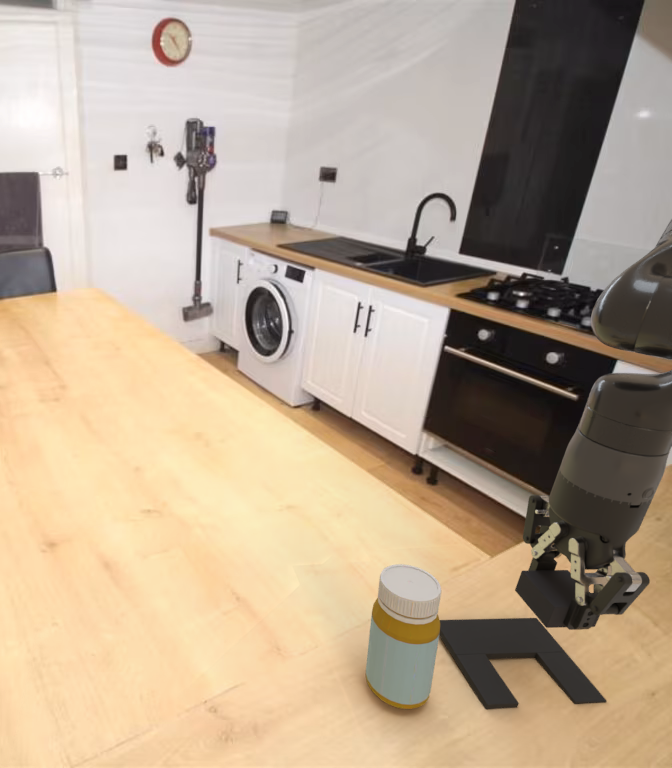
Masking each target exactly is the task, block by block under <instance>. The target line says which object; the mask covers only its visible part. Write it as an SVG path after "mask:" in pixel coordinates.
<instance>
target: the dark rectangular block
mask: <svg viewBox="0 0 672 768" xmlns="http://www.w3.org/2000/svg"><path fill="white" fill-rule="evenodd" d="M528 570H529V569H528ZM528 570H521V572H520V575H519V578H518V580H517V583H516V585H515V589H514V591H515V592H516V593H517V595H518V596H519V597H520V598H521V599H522V601H523V602H524V603H525V604H526V605H527V606H528V608H529V609H530V610H531V611H532V613H533V614H534V615H535V616H536V618H537V619H538V620H539V621H540V623H541V624H542V625H543V626H544V627H545V628H546V629H549V628H550V629H551V628H553V629H555V628H567V627H566V626H565V625H564V623H563V622H564V619H565V617H566V614H567V612H568V610H569V606H570V604H571V601H572V599H575V581H574V580H572V578H571V571H569V570H568V569H555V570H529V571H528ZM589 593H591V591H589ZM600 616H601V615H596V618H595V620H594V622H593V624H592V627H591V628H596V625H597V623H598V621H599V619H600Z"/></svg>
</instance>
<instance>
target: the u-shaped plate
mask: <svg viewBox="0 0 672 768" xmlns="http://www.w3.org/2000/svg"><path fill="white" fill-rule="evenodd" d="M439 620H440V634H439V638H440V639H441V640H442V642H443V643H444V645H445V647H446V649H447V650H448V652H449V654H450V655H451V656H452V658H453V660H454V662H455V664H456V665H457V666H458V668H459V670H460V671H461V673H462V674H463V676H464V678H465V679H466V681H467V683H468V684H469V686H470V688H471V689H472V691H473V693H474V694H475V696H476V697H477V699H478V700H479V702H480V703H481V705H482V707H483V708H484V710H497V709H498V710H499V709H501V710H502V709H517V708H518V707H519V704H520V703H519V701H518V700H517V698H516V697H515V696H514V694H513V693H512V691H511V690H510V688H509V687H508V686H507V684H506V682H505V680H504V679H503V678H502V676H501V674H499V672H498V671H497V669H496V667H494V665H493V663H492V662H491V660H508V659H509V660H510V659H511V660H512V659H513V660H514V659H535V661H537V663H538V664H539V665H540V666H541V667H542V668H543V670H544V671H545V672H546V673H547V674H548V675H549V677H550V678H551V679H552V680H553V681H554V683H556V685H557V686H558V687H559V688H560V690H561V691H562V692H563V693H564V694H565V695H566V696H567V698H569V699H570V701H571V702H572V703H573V704H574V705H587V704H604V703H605V704H606V703H607V702H608V701H607V699H606V698H605V697H604V696H603V695H602V693H601V692H600V691H599V690H598V689H597V688H596V686H595V685H594V684H593V682H592V681H591V680H590V679H589V678H588V677H587V676H586V674H585V673H584V672H583V671H582V669H581V668H580V667H579V666H578V665H577V664H576V663H575V662H574V659H572V658H571V656H570V655H569V654H568V653H567V652H566V651H565V650H564V649H563V647H562V646H561V645H560V643H559V642H558V641H557V640H556V639H555V638H554V636H552V634H551V633H550V632H549V631H548V629H547V628H546V627H545V626H544V624H543V623H542V622H541V621H540V620H539V618H538V617H517V618H516V617H512V618H511V617H510V618H509V617H508V618H507V617H506V618H469V619H468V618H467V619H439Z"/></svg>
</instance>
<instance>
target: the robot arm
mask: <svg viewBox="0 0 672 768" xmlns="http://www.w3.org/2000/svg"><path fill="white" fill-rule="evenodd" d="M590 326H591V330H592V332H593V334H594V336H595V338H596V339H597V340H598V341H599V342H600V343H601V344H603V345H605V346H606V347H610V348H612V349H616V350H619V351H624V352H630V353H635V354H640V355H645V356H649V357H655V358H659V359H662V360H663V359H664V360H667V361H672V218H671V219H670V221H669V222H668V224H667V225H666V228H665V229H664V231H663V232H662V234H661V236H660V237H659V239H658V241H657V243H656V245H655V246H654V248H652V249H651V250H650V251H649V252H648V253H646V254H645V255H644V256H643V257H641V258H640V259H639V260H636V262H634V263H633V264H632V265H630V266H629V267H627V268H626V269H625V270H623V271H622V272H621V273H620V274H619V275H618V276H617V277H615V278H614V279H613V280H611V282H610V283H609V284H607V286H606V287H605V288H604V289H603V290H602V292H601V293H600V295H599V297H598V298H597V300H596V301H595V304H594V305H593V308H592V311H591V316H590ZM582 411H583V412H582V414H581V417H580V419H579V422H578V426H577V427H576V429H575V432H574V433H573V435H572V437H571V438H570V440H569V442H568V444H567V446H566V449H565V451H564V454H563V456H562V460H561V462H560V466H559V468H558V471H557V474H556V476H555V478H554V479H555V480H554V483H553V485H552V488H551V490H550V493H549V494H532V495H530V496H529V497H528V501H527V502H528V503H527V508H526V515H525V520H524V527H523V533H522V540H523V542H524V543H525V544H527V545H529V546H530V547H531V549H530V553H531V556H532V559H531V562H530V564H529V567H528V570H527V571H529V570H556V569H557V565H558V561H557V559H559V558H560V557H561V556H565V557H566V559H567V560H568V562H569V563H570V573H571V578H572V580H574V581H575V599H572V601H571V604H570V606H569V610H568V612H567V614H566V617H565V619H564V622H563V623H564V625H565V626H566V627H565V628H567V630H569V631H571V630H572V631H573V630H576V631H578V630H579V631H581V630H590V629H591V628H593V627H592V624H593V622H594V620H595V618H596V615H600V616H603V615H615V616H619V615H623V614H624V613H625V612H626V611H627V610H628V609H629V607H630V606H632V604H633V603H634V602H635V601H636V600H637V598H638V597H639V596H640V595H641V594H642V593H643V591H644V590H645V589H646V588H647V587H648V586H649V585H650V582H651V580H650V577H649V575H648V574H647V572H645V571H643V572H642V571H635V570H634V569H633V567H632V566H631V565H630V564H629V563H628V562H627V560H626V555H627V553H626V544H627V542H628V541H629V540H630V539H631V538H632V537H634V535H636V534H637V533H638V531H639V530H640V528H641V526H642V523H643V521H644V519H645V517H646V515H647V512H648V510H649V508H650V506H651V503H652V502H653V500H654V497H655V495H656V492H657V490H658V488H659V486H660V483H661V482H662V480H663V477H664V475H665V471H666V468H667V463H668V459H669V455H670V453H671V450H672V369H671V370H668V371H665V372H662V373H661V372H660V373H636V372H635V373H633V372H612V373H611V372H610V373H606V374H603V375H601V376H599V377H598V378H597V379H596V380H595V382H593V385H592V387H591V389H590V392H589V394H588V397H587V400H586V403H585V406H584V408H583V410H582ZM537 527H540V528H539V532H536V531H537ZM586 570H589V571H590V570H593V571H595V570H596V571H595V572H586ZM591 585H593V589H592V591H593V592H590V586H591ZM589 592H590V593H589Z"/></svg>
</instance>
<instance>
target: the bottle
mask: <svg viewBox="0 0 672 768" xmlns="http://www.w3.org/2000/svg"><path fill="white" fill-rule="evenodd" d="M377 588H378V590H377V591H378V593H377V598H376V599H375V601H374V602H373V603H372V610H371V617H370V626H369V634H368V635H369V636H368V645H367V654H366V662H365V663H366V664H365V679H366V683H367V686H368V687H369V689H370V691H372V693H374V695H375V696H376V697H378V699H380V700H381V701H382V702H384V703H386V704H387V705H389V706H392V707H394V708H397V709H401V710H409V709H410V710H412V709H418V708H420V707H422V706H423V705H425V704H426V703H427V702H428V700H429V699H430V696H431V695H430V694H431V691H432V685H433V678H434V672H435V666H436V659H437V653H438V648H439V647H438V645H439V640H440V636H439V634H440V620H441V619H440V616H439V610H440V609H439V608H440V604H441V597H442V586H441V584H440V582H439V580H438V579H437V578H436V577H435V576H434V575H433V574H432V573H430V572H428V571H427V570H425V569H423V568H420V567H418V566H415V565H411V564H404V563H398V564H397V563H396V564H391V565H388V566H386V567H384V568H383V569H382V570H381V572H380V574H379V581H378V587H377Z"/></svg>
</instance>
